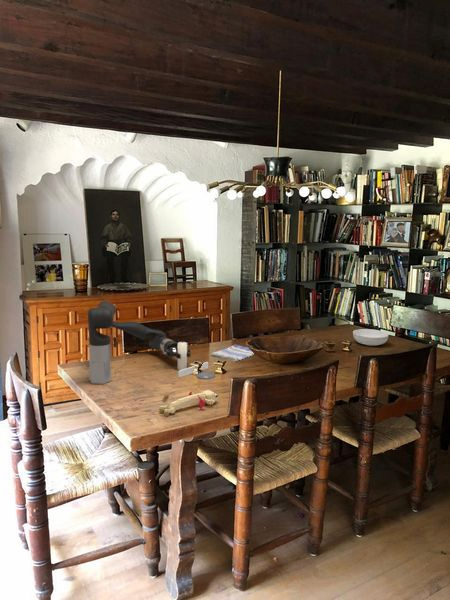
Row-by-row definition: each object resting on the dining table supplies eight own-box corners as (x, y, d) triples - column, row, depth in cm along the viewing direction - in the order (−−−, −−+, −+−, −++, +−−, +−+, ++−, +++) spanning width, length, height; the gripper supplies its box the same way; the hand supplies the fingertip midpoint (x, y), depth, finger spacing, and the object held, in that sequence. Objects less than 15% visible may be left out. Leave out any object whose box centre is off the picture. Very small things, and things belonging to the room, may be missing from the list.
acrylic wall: (208, 367, 242) (208, 362, 242) (179, 377, 227) (179, 371, 226) (207, 367, 243) (207, 361, 242) (178, 377, 227) (178, 370, 227)
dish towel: (210, 356, 263) (210, 351, 263) (236, 348, 282) (236, 343, 281) (236, 363, 253) (236, 358, 252) (261, 353, 271) (261, 348, 271)
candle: (186, 370, 237) (186, 342, 235) (176, 370, 237) (177, 342, 235) (187, 367, 242) (187, 340, 240) (177, 367, 242) (178, 340, 240)
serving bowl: (347, 339, 306) (347, 328, 305) (379, 339, 308) (380, 328, 307) (359, 348, 286) (360, 337, 284) (393, 348, 288) (394, 337, 287)
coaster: (215, 379, 225) (215, 378, 225) (195, 379, 225) (195, 377, 225) (215, 373, 234) (215, 372, 234) (196, 372, 234) (196, 371, 234)
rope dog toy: (170, 422, 181) (224, 403, 196) (168, 400, 179) (223, 382, 194) (157, 413, 189) (210, 395, 204) (155, 392, 187) (209, 375, 202)
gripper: (182, 352, 255) (197, 361, 240) (157, 356, 247) (171, 365, 233) (182, 338, 253) (197, 346, 239) (157, 341, 246) (171, 350, 232)
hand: (184, 356), depth 236 cm, fingers closed on candle, 4 cm apart
